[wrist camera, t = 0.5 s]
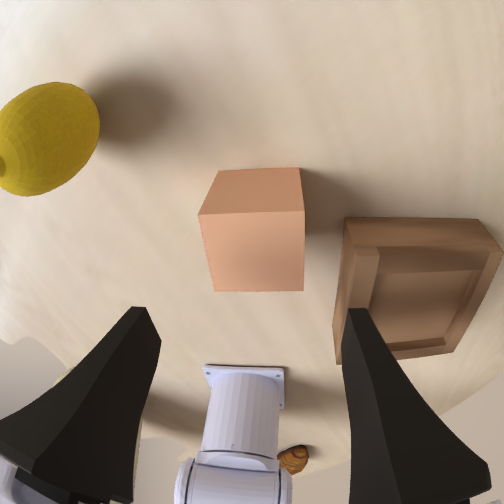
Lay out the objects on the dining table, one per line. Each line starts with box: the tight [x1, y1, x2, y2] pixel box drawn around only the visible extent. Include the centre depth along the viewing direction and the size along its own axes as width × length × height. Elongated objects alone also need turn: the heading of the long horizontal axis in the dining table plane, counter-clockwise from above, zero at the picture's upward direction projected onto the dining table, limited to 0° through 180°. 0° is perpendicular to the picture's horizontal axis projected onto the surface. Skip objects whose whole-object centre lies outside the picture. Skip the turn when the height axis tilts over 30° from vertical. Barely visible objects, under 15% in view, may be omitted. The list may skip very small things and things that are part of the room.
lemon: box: [0, 82, 100, 196], centre depth 12 cm, size 6×6×8 cm
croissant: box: [277, 446, 309, 475], centre depth 46 cm, size 14×7×5 cm, turn 169°
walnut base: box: [332, 218, 504, 365], centre depth 19 cm, size 10×10×4 cm
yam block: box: [198, 168, 305, 292], centre depth 16 cm, size 4×4×5 cm
